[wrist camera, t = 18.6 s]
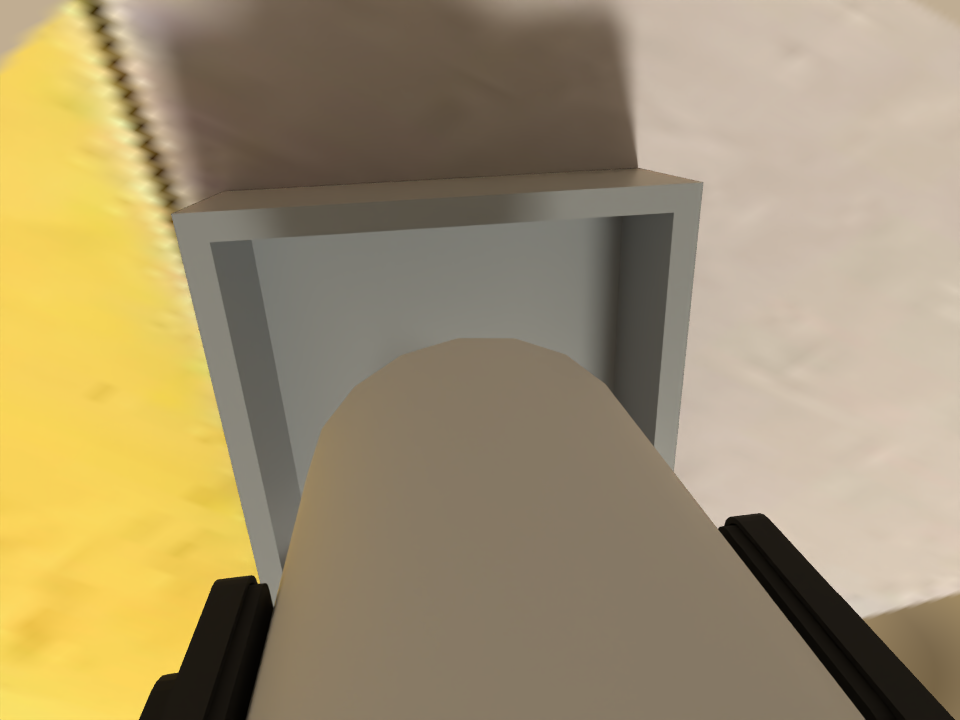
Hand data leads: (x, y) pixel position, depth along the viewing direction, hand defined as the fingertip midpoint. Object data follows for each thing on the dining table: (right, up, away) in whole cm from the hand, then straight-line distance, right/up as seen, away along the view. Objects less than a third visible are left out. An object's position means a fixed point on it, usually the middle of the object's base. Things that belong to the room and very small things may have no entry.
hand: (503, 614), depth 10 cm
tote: (-1, +2, +14) cm, 15 cm away
